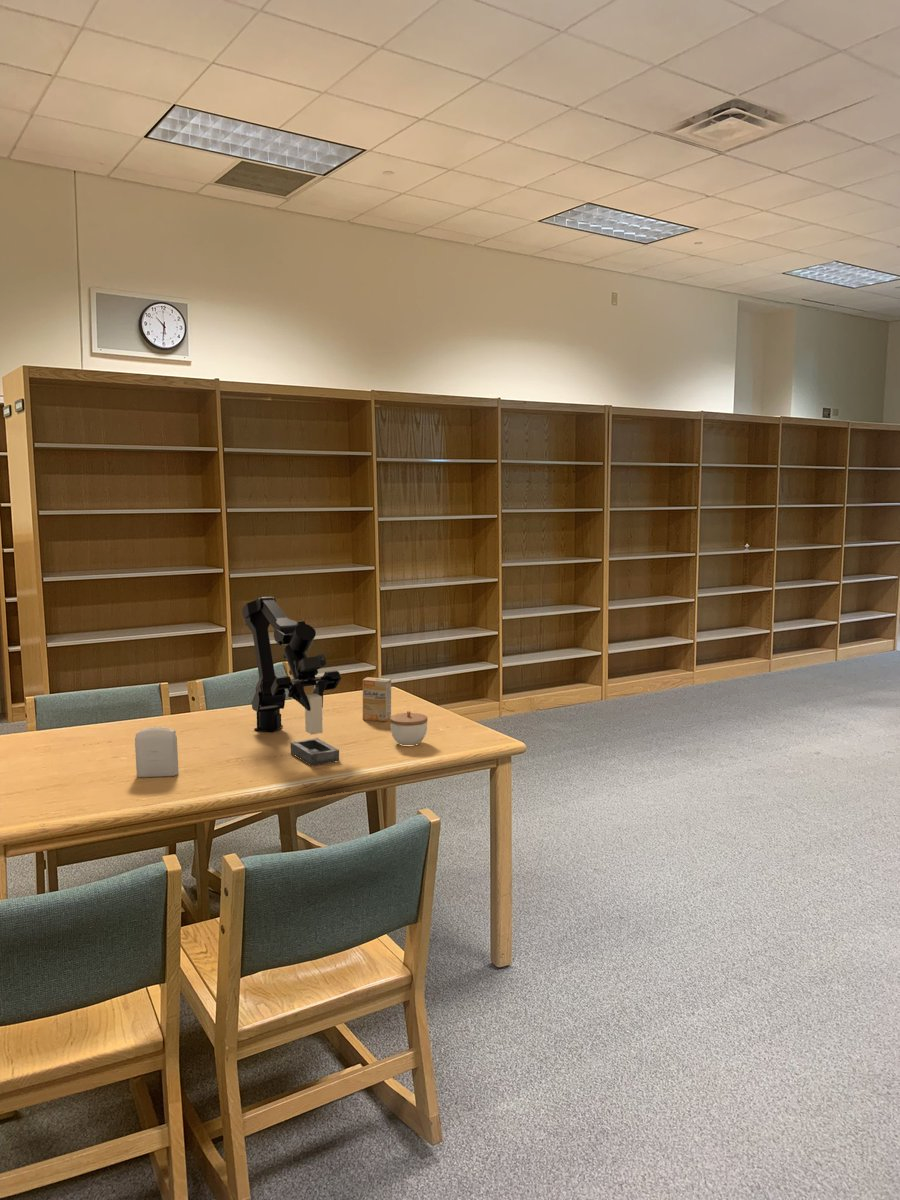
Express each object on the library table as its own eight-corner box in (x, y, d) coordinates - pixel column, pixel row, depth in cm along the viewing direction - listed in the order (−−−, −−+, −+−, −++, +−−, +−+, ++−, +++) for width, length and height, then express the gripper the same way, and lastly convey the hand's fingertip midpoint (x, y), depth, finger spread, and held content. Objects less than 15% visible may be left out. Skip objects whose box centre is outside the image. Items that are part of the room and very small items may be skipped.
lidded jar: (413, 736, 255) (413, 705, 254) (434, 744, 247) (434, 712, 246) (383, 742, 249) (382, 710, 248) (403, 751, 240) (403, 718, 239)
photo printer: (134, 778, 216) (132, 730, 215) (138, 773, 221) (136, 725, 219) (176, 777, 217) (174, 729, 216) (180, 772, 222) (178, 724, 220)
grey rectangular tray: (290, 752, 238) (290, 742, 238) (317, 748, 243) (317, 738, 242) (311, 766, 227) (311, 754, 226) (339, 761, 231) (339, 750, 231)
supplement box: (362, 720, 274) (361, 679, 273) (367, 716, 279) (367, 676, 277) (386, 722, 272) (386, 681, 270) (391, 718, 276) (391, 678, 275)
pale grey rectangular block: (305, 731, 235) (304, 695, 234) (316, 729, 236) (315, 693, 235) (311, 734, 231) (310, 697, 230) (322, 732, 233) (322, 696, 232)
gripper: (273, 647, 229) (290, 696, 222) (338, 641, 240) (356, 688, 232) (263, 672, 237) (279, 720, 229) (326, 665, 247) (343, 710, 239)
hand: (315, 709), depth 232 cm, fingers closed on pale grey rectangular block, 3 cm apart
